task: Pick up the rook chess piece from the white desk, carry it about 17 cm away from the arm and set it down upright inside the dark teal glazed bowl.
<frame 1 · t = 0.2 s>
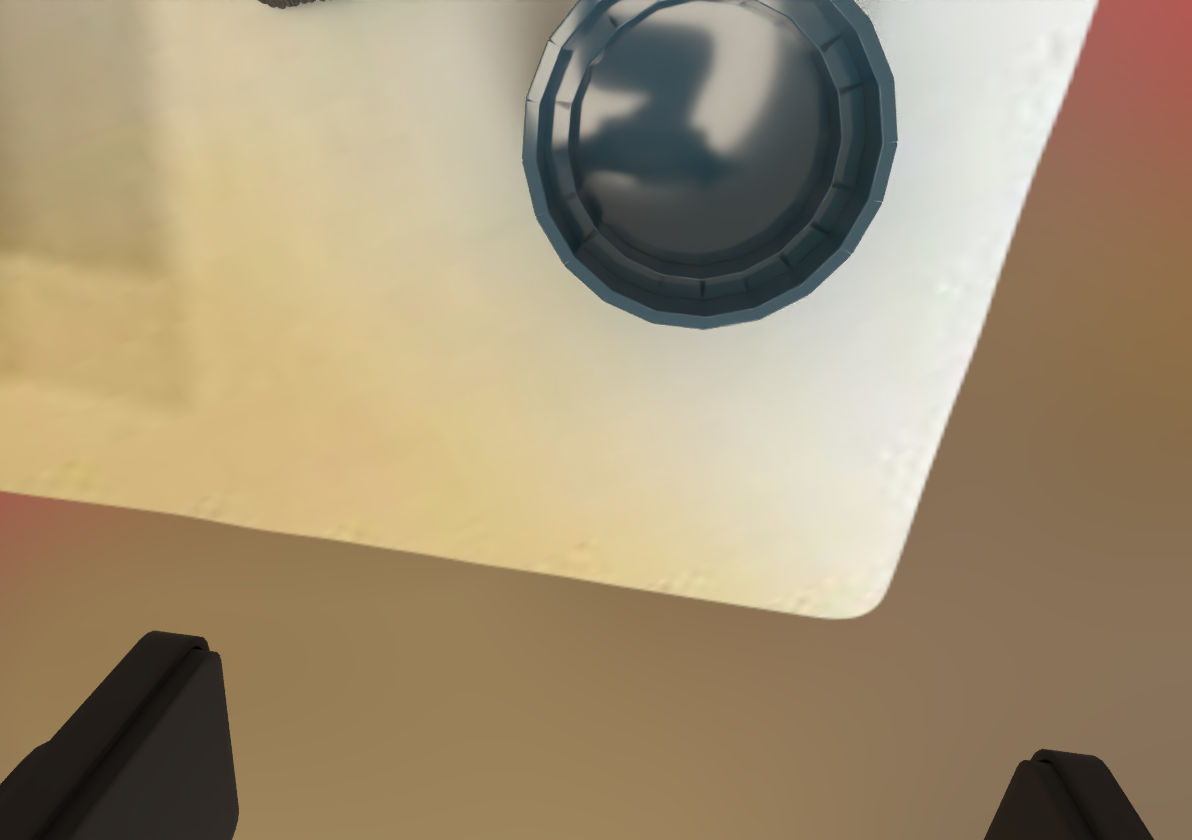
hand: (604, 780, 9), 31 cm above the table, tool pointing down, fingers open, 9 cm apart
bowl: (699, 138, 35), on the table
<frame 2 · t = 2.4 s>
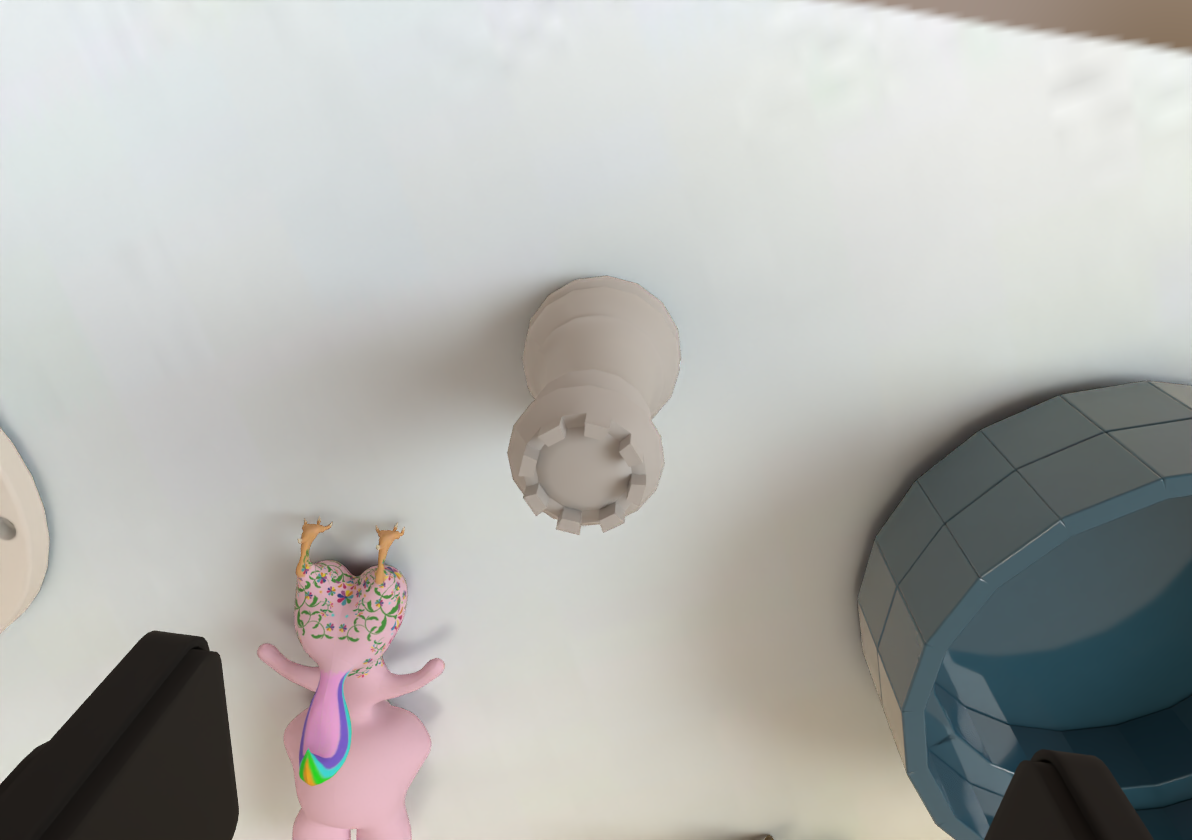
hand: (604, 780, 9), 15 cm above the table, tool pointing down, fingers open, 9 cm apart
bowl: (1083, 583, 25), on the table
rook chess piece: (603, 345, 23), on the table
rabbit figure: (373, 683, 29), on the table
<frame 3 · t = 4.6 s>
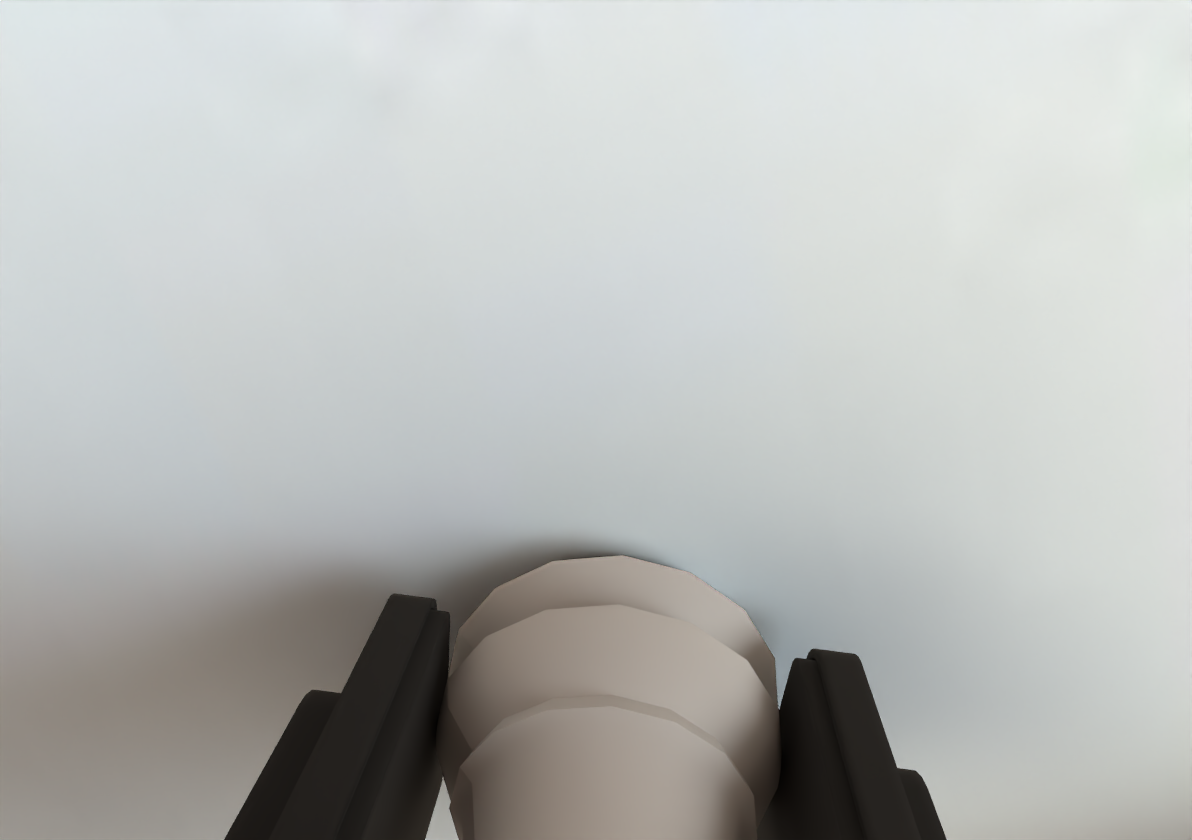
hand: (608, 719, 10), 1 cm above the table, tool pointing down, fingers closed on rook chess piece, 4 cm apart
rook chess piece: (613, 658, 11), on the table, touching gripper
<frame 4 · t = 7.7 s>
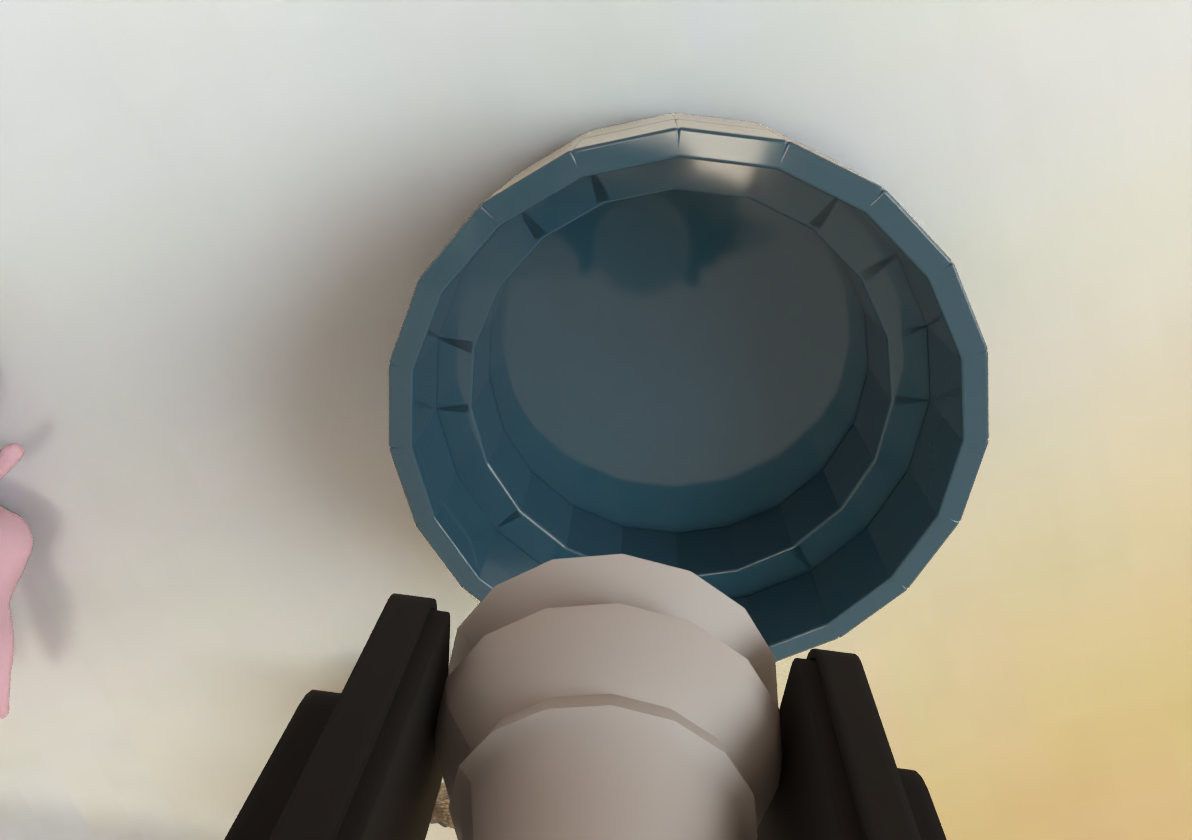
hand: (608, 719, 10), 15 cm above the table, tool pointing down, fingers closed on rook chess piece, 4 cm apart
eagle figurine: (434, 739, 31), on the table
bowl: (674, 364, 24), on the table
rook chess piece: (613, 657, 11), point 14 cm above the table, touching gripper
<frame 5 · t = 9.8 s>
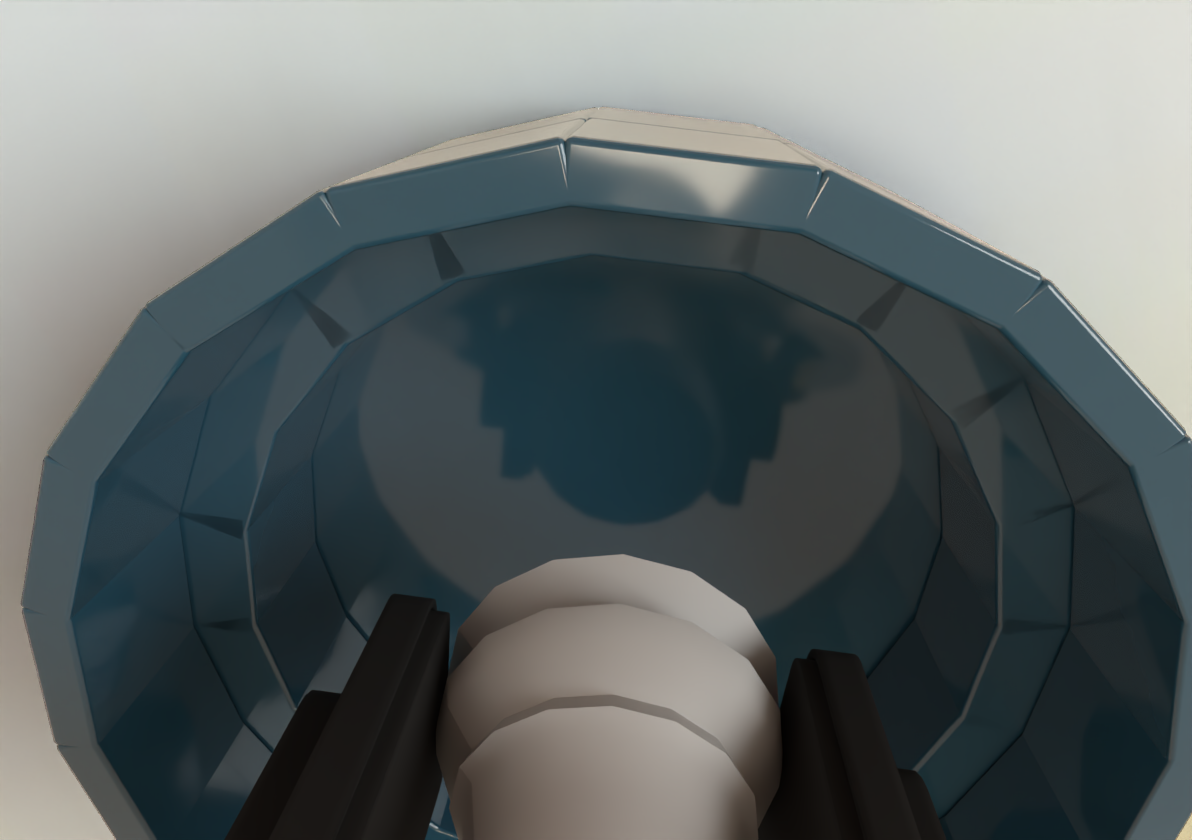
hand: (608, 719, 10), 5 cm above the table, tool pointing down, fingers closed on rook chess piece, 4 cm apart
bowl: (620, 519, 15), on the table
rook chess piece: (613, 658, 11), point 4 cm above the table, touching gripper
when the fingers open (2 cm above the table, at t = 11.6 s): rook chess piece stays where it is, resting on bowl.
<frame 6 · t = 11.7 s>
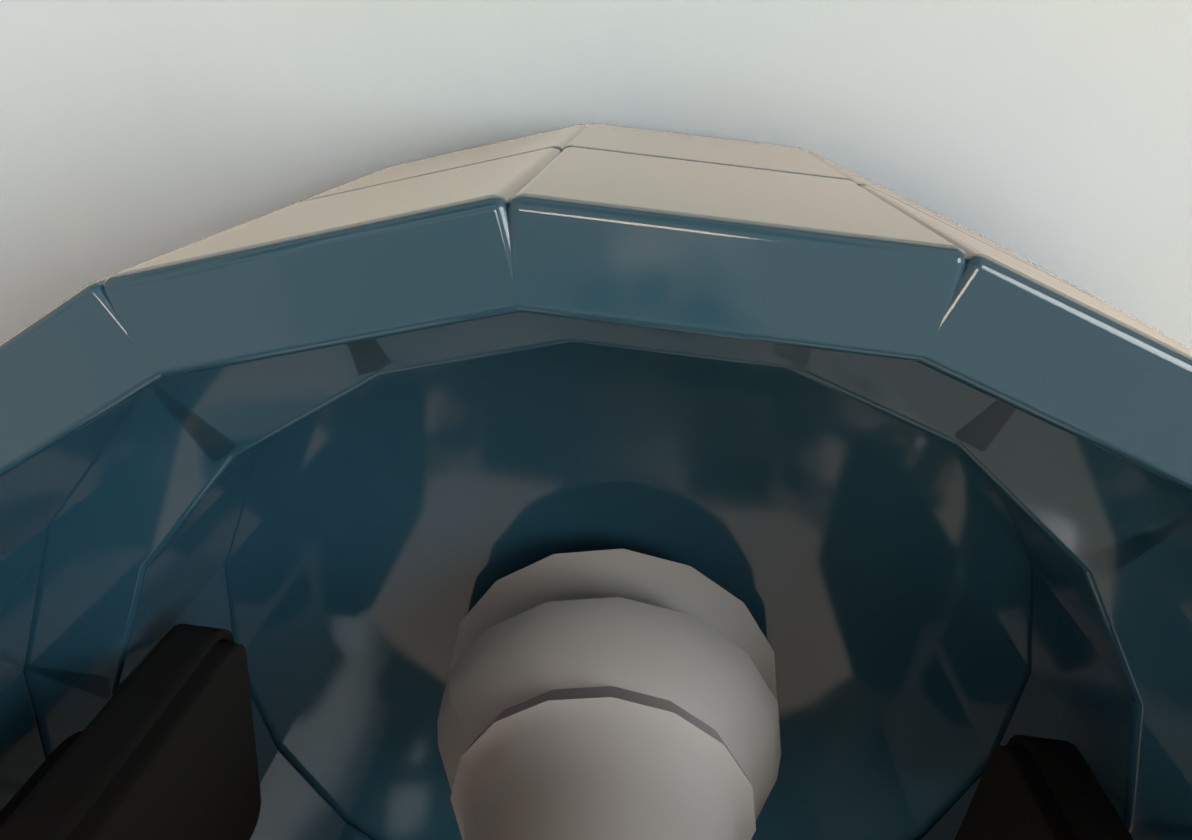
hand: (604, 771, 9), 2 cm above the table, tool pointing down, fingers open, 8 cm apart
bowl: (618, 635, 12), on the table
rook chess piece: (614, 652, 11), resting on bowl
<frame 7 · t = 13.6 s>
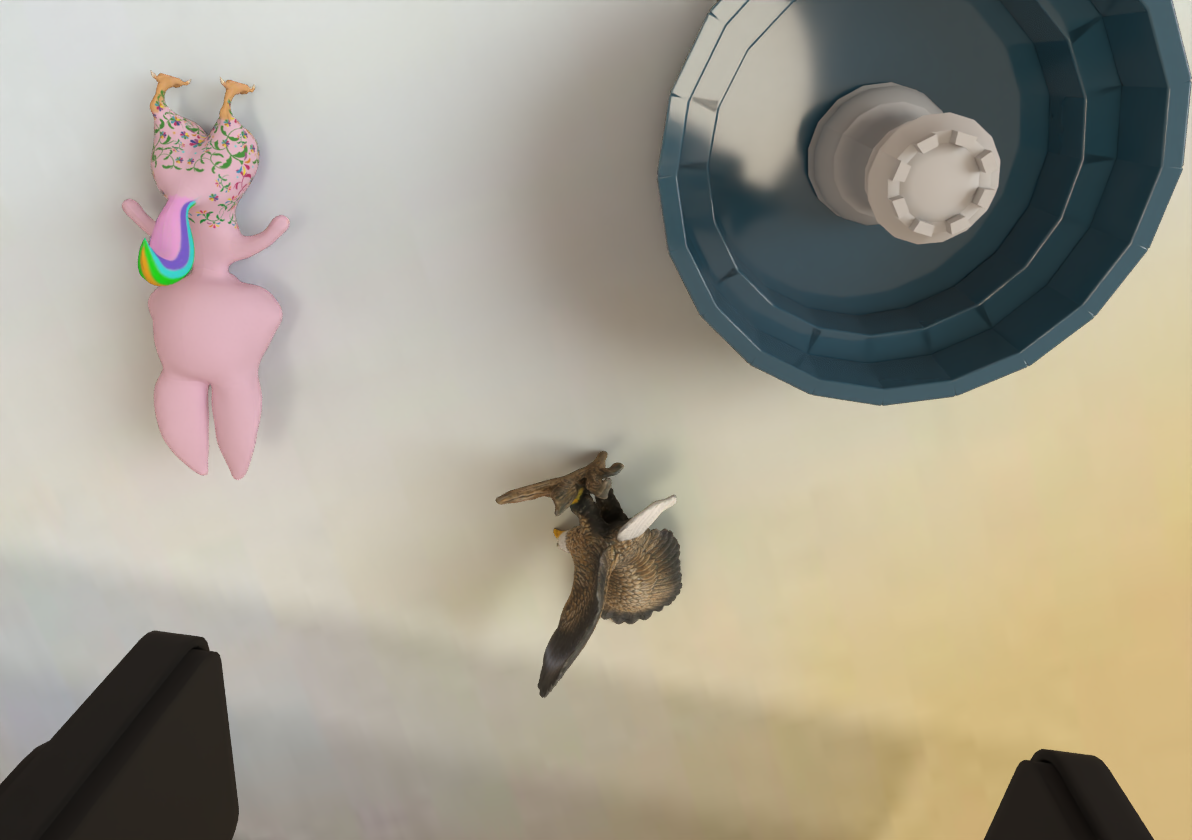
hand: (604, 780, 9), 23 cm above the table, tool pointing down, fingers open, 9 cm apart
eagle figurine: (604, 531, 35), on the table
bowl: (869, 153, 27), on the table
rook chess piece: (871, 153, 27), resting on bowl
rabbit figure: (239, 277, 32), on the table
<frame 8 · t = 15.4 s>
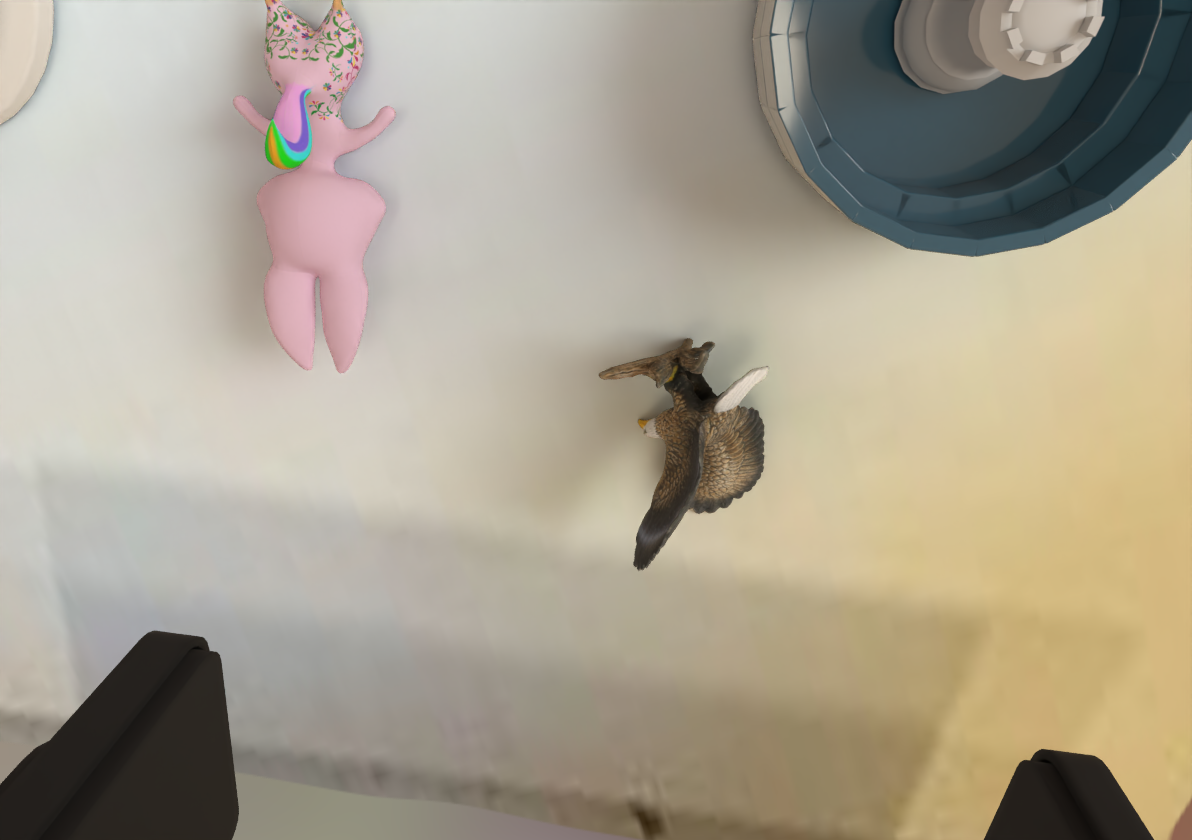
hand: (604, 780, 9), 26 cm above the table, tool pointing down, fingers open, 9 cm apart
eagle figurine: (686, 421, 36), on the table
bowl: (949, 28, 29), on the table
rook chess piece: (952, 26, 28), resting on bowl
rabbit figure: (337, 177, 33), on the table
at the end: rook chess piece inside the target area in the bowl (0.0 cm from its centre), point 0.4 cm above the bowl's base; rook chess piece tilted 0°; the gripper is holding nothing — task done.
